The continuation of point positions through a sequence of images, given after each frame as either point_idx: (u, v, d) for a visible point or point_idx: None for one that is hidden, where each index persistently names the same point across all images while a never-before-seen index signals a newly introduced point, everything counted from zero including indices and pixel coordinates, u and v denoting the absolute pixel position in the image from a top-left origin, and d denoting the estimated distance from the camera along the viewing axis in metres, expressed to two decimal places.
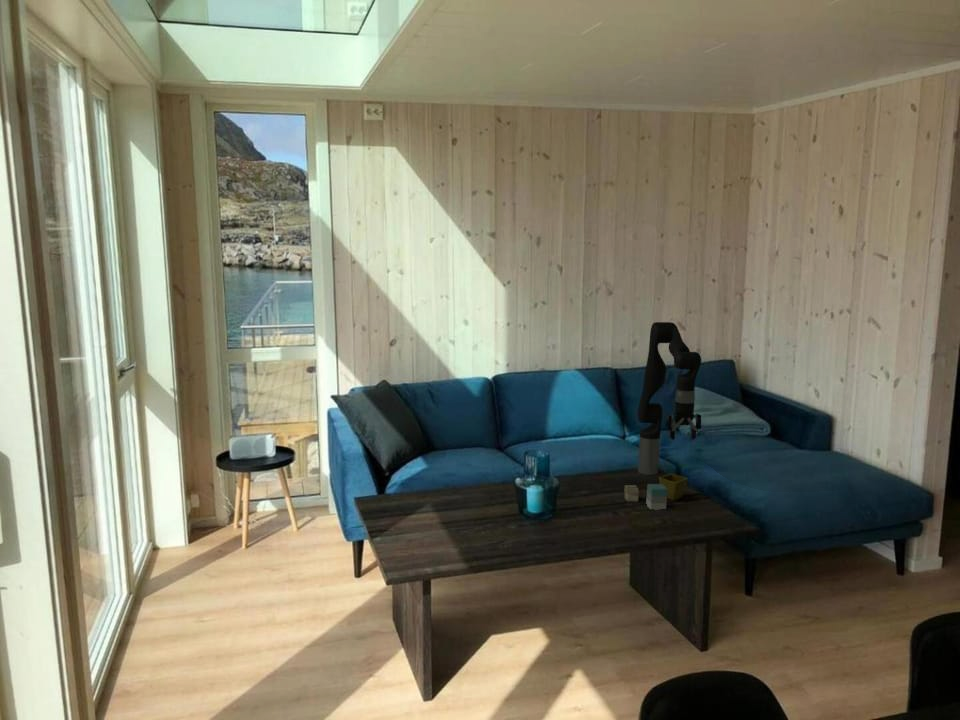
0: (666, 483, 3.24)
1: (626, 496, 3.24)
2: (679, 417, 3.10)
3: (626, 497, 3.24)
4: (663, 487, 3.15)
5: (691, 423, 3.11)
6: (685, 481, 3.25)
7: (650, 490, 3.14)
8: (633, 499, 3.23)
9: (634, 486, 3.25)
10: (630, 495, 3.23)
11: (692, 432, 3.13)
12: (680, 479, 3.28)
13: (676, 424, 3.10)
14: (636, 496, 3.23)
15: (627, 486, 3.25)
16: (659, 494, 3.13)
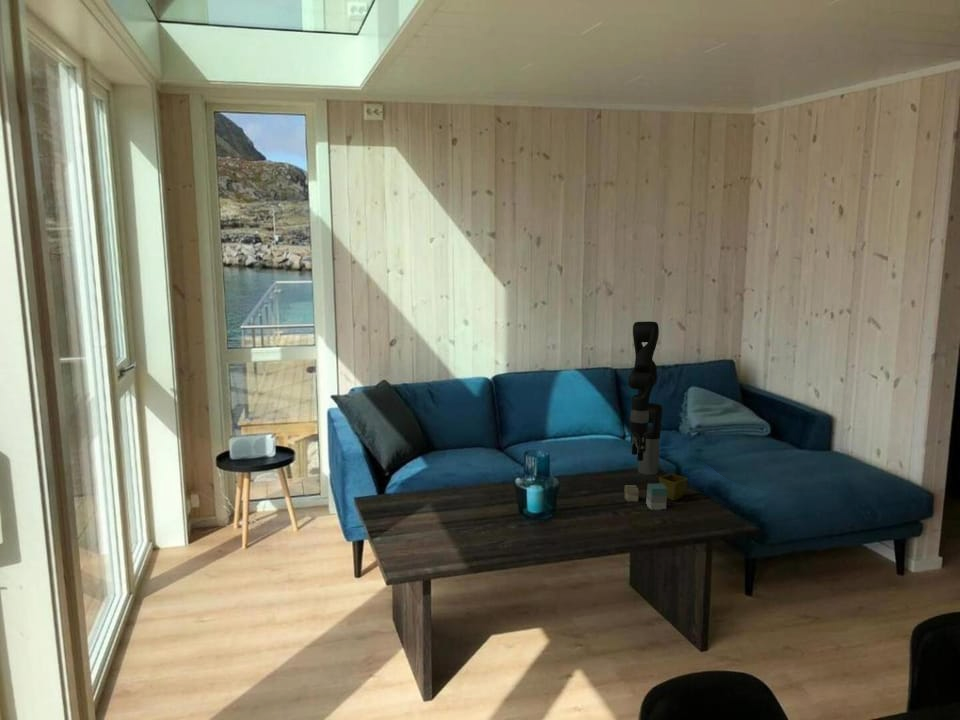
0: (666, 483, 3.24)
1: (626, 496, 3.24)
2: None
3: (626, 497, 3.24)
4: (663, 487, 3.15)
5: None
6: (685, 481, 3.25)
7: (650, 490, 3.14)
8: (633, 499, 3.23)
9: (634, 486, 3.25)
10: (630, 495, 3.23)
11: (635, 448, 3.25)
12: (680, 479, 3.28)
13: None
14: (636, 496, 3.23)
15: (627, 486, 3.25)
16: (659, 494, 3.13)
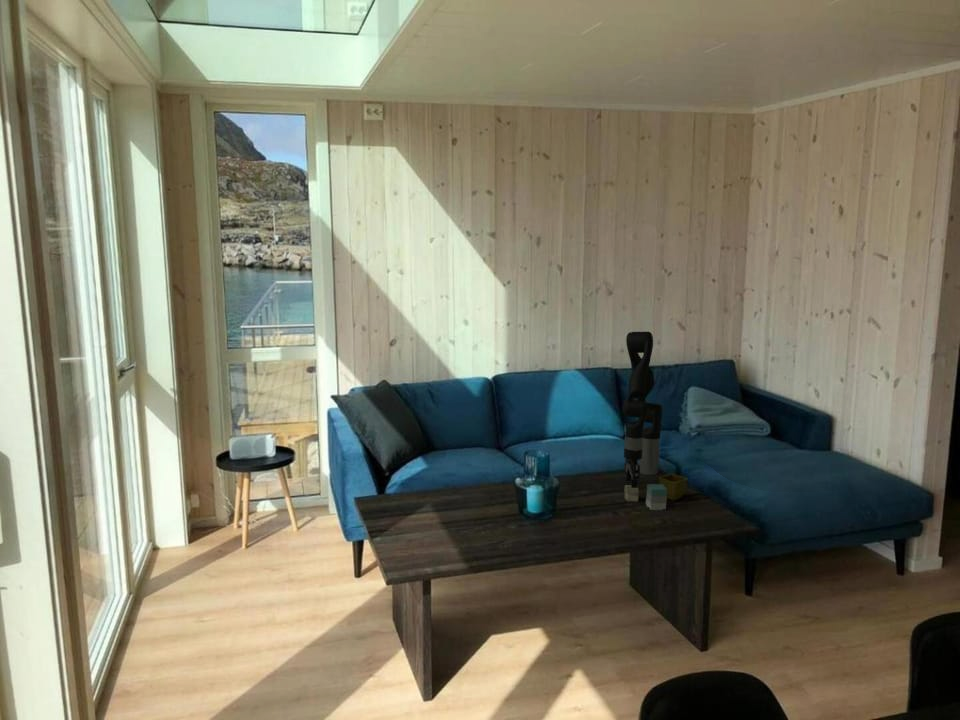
0: (666, 483, 3.24)
1: (626, 496, 3.24)
2: None
3: (626, 497, 3.24)
4: (663, 487, 3.15)
5: None
6: (685, 481, 3.25)
7: (650, 490, 3.14)
8: (633, 499, 3.23)
9: None
10: (630, 495, 3.23)
11: (629, 474, 3.27)
12: (680, 479, 3.28)
13: None
14: (636, 496, 3.23)
15: (627, 486, 3.25)
16: (659, 494, 3.13)
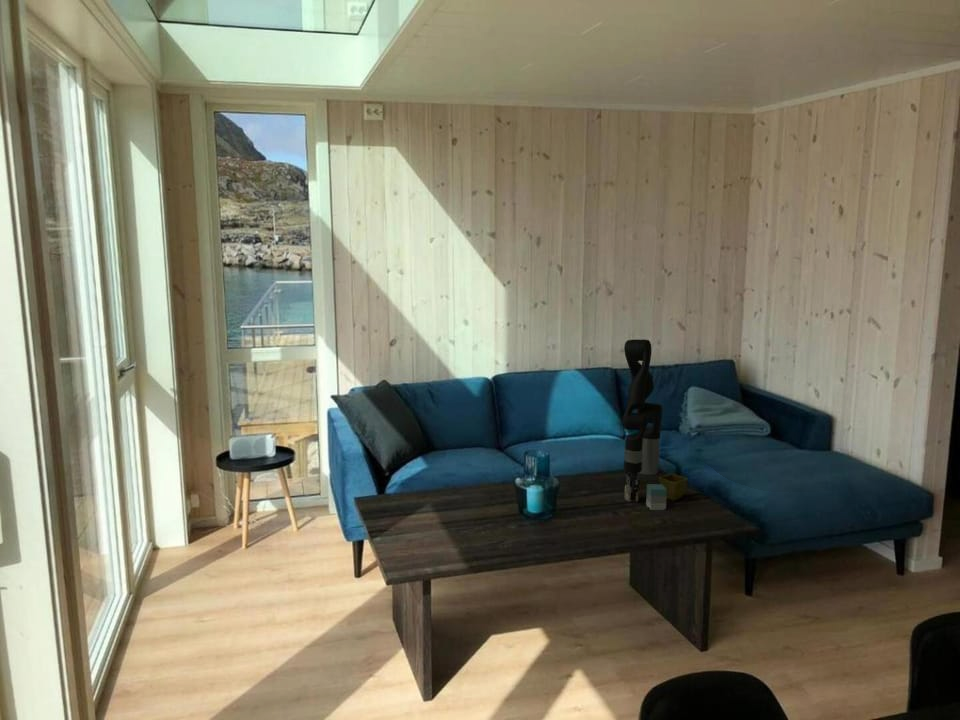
0: (666, 483, 3.24)
1: (626, 496, 3.24)
2: None
3: (626, 497, 3.24)
4: (662, 487, 3.15)
5: None
6: (685, 481, 3.25)
7: (649, 490, 3.14)
8: None
9: None
10: None
11: None
12: (680, 479, 3.28)
13: None
14: (636, 496, 3.23)
15: (627, 486, 3.25)
16: (658, 494, 3.13)
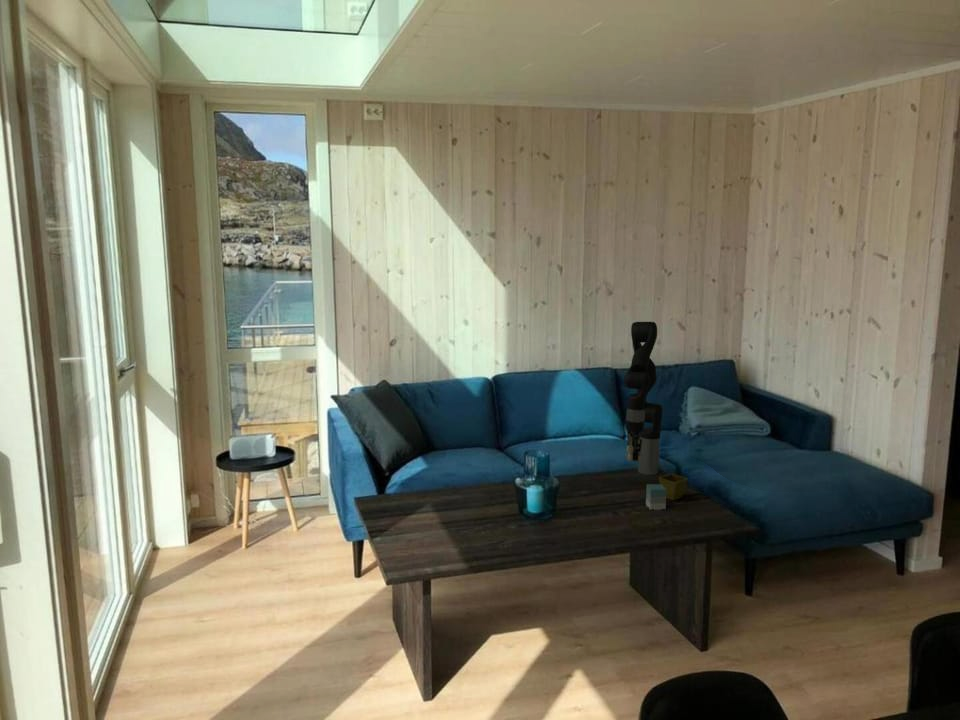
0: (666, 483, 3.24)
1: (628, 456, 3.21)
2: None
3: (628, 457, 3.21)
4: (662, 487, 3.15)
5: None
6: (685, 481, 3.25)
7: (649, 490, 3.14)
8: None
9: None
10: (632, 455, 3.20)
11: None
12: (680, 479, 3.28)
13: None
14: (638, 456, 3.20)
15: (629, 446, 3.22)
16: (658, 494, 3.13)
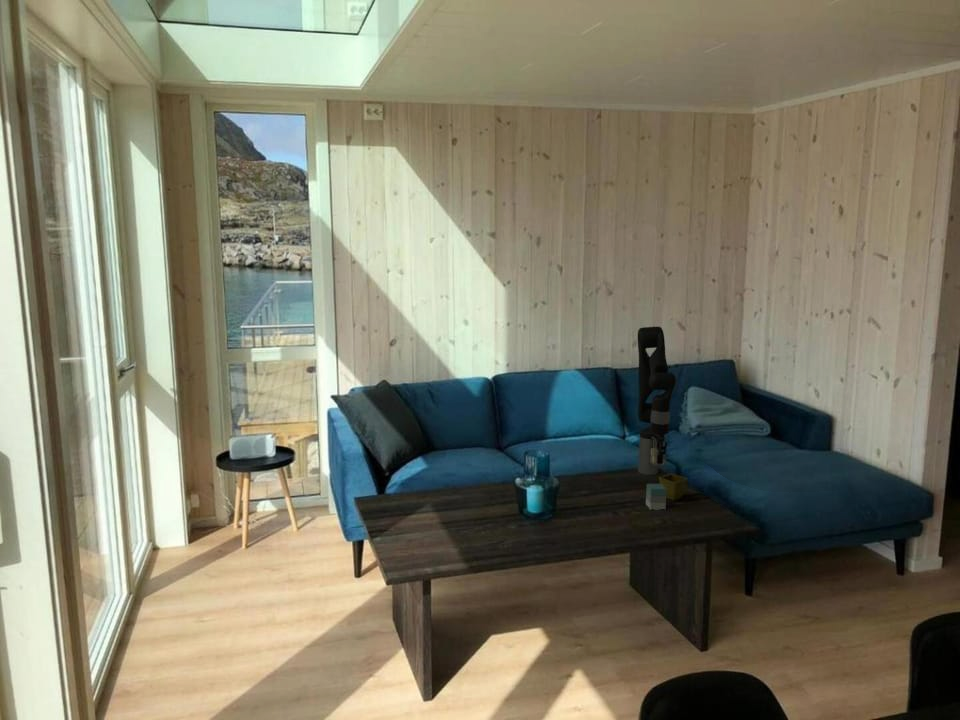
0: (666, 483, 3.24)
1: (652, 459, 3.13)
2: None
3: (652, 460, 3.13)
4: (662, 487, 3.15)
5: None
6: (685, 481, 3.25)
7: (649, 490, 3.14)
8: None
9: None
10: None
11: None
12: (680, 479, 3.28)
13: None
14: (663, 459, 3.11)
15: (653, 449, 3.14)
16: (658, 494, 3.13)
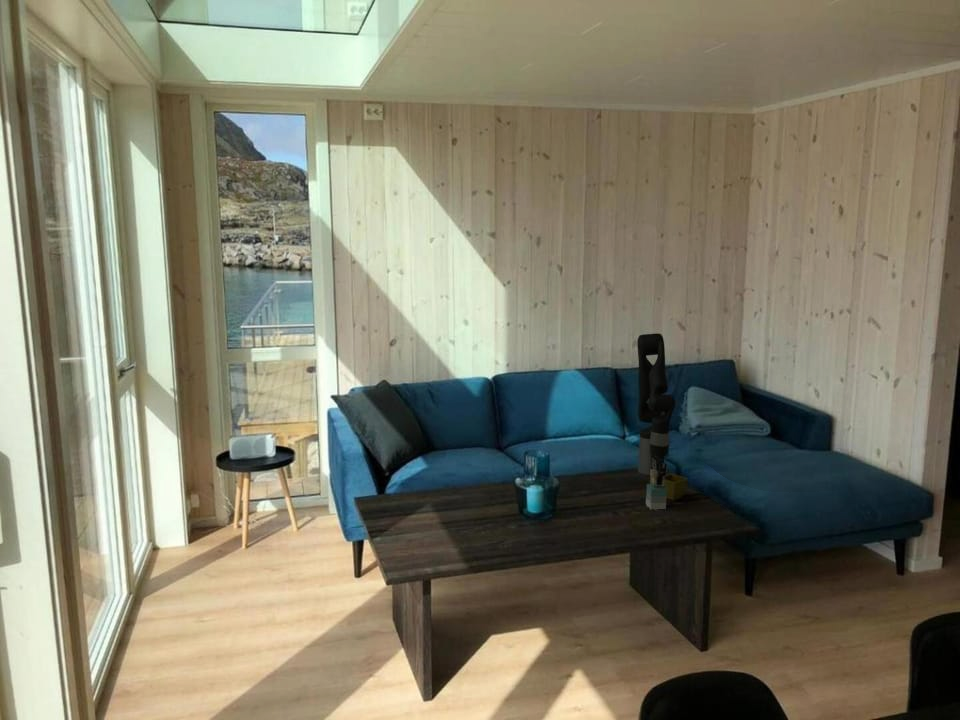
0: (666, 483, 3.24)
1: (652, 480, 3.14)
2: None
3: (652, 481, 3.14)
4: (663, 487, 3.15)
5: None
6: (685, 481, 3.25)
7: (650, 490, 3.14)
8: None
9: None
10: (656, 479, 3.13)
11: None
12: (680, 479, 3.28)
13: None
14: (662, 480, 3.13)
15: (653, 470, 3.15)
16: (659, 494, 3.13)
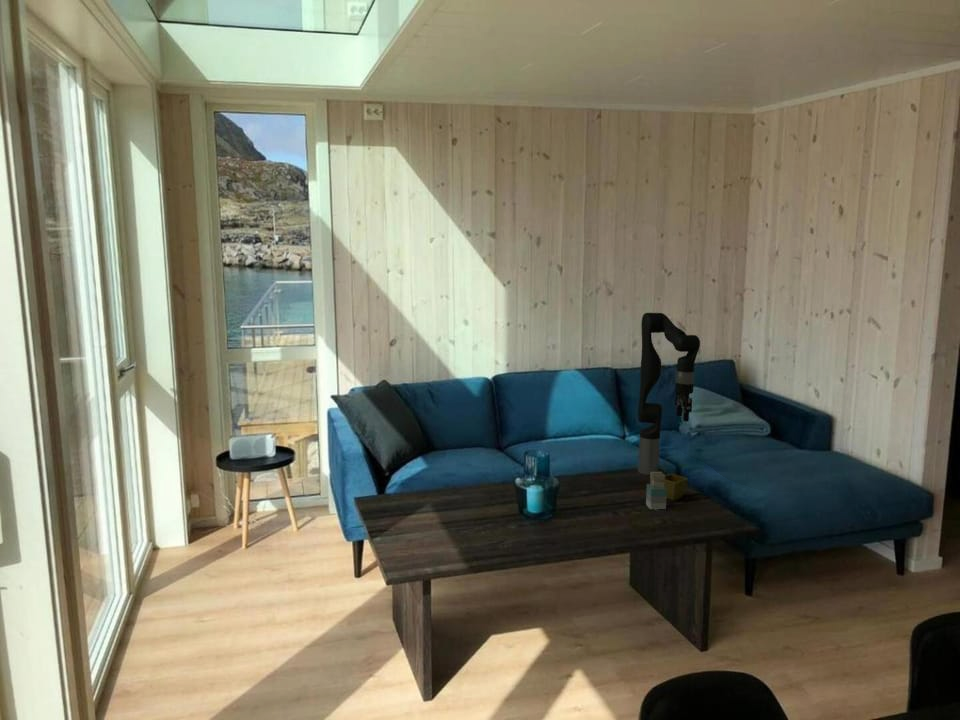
0: (666, 483, 3.24)
1: (652, 483, 3.14)
2: None
3: (652, 484, 3.14)
4: None
5: None
6: (685, 481, 3.25)
7: (649, 490, 3.14)
8: (659, 486, 3.13)
9: (660, 473, 3.15)
10: (656, 482, 3.13)
11: (680, 410, 3.33)
12: (680, 479, 3.28)
13: None
14: (662, 483, 3.13)
15: (653, 472, 3.15)
16: (658, 494, 3.13)
